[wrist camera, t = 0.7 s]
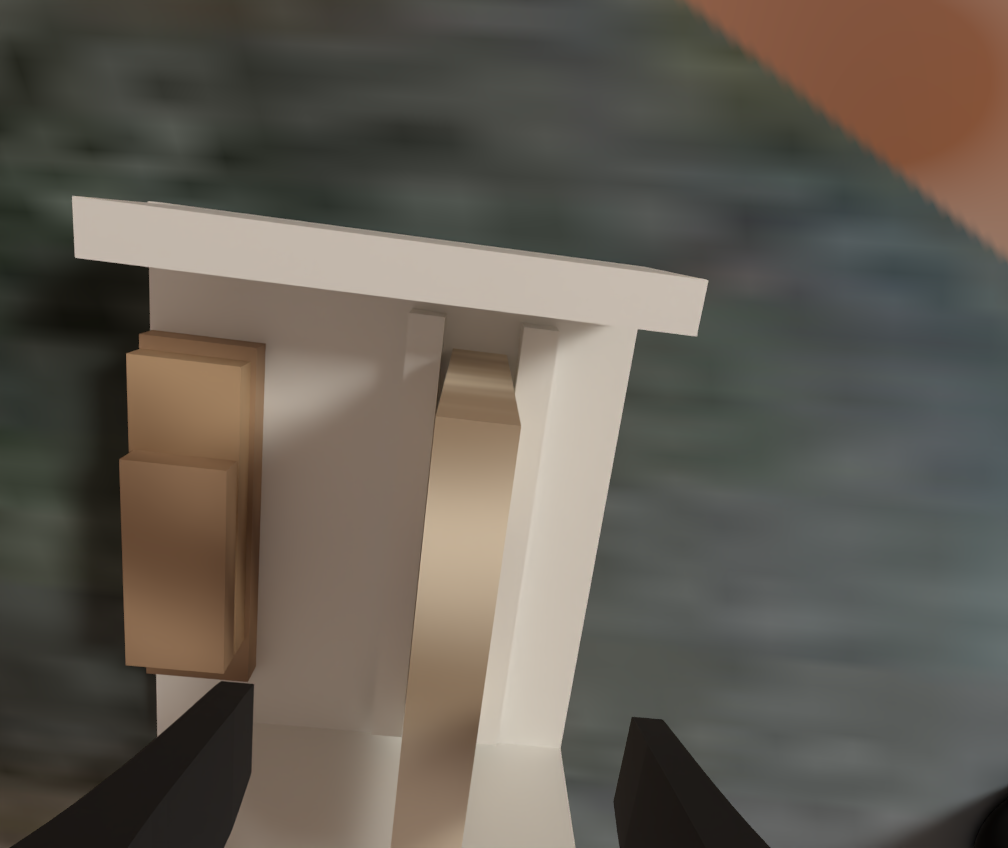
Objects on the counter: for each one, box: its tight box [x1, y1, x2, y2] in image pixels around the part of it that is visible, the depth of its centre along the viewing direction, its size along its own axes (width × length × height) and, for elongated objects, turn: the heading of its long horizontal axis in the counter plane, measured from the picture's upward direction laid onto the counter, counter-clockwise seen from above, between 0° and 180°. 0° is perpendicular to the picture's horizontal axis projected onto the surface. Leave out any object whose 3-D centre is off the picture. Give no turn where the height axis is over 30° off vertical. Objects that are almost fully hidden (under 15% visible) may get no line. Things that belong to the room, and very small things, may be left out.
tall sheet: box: [391, 348, 521, 848], centre depth 17 cm, size 12×2×8 cm, turn 173°
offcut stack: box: [119, 330, 266, 682], centre depth 19 cm, size 11×3×2 cm, turn 173°
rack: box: [72, 196, 708, 848], centre depth 19 cm, size 18×14×6 cm
